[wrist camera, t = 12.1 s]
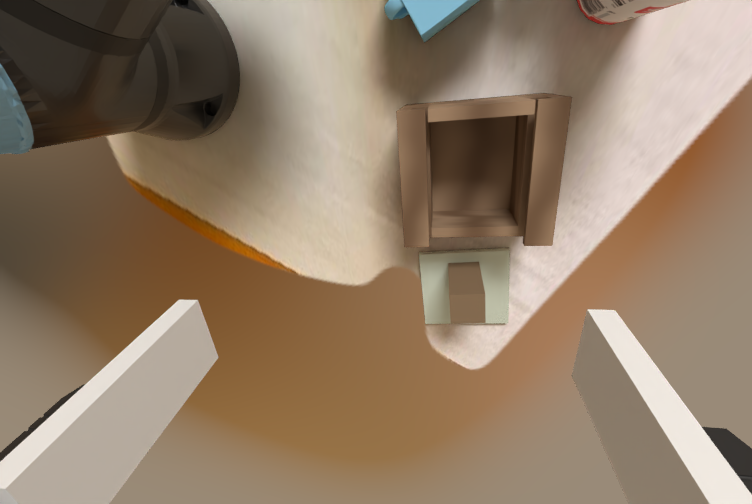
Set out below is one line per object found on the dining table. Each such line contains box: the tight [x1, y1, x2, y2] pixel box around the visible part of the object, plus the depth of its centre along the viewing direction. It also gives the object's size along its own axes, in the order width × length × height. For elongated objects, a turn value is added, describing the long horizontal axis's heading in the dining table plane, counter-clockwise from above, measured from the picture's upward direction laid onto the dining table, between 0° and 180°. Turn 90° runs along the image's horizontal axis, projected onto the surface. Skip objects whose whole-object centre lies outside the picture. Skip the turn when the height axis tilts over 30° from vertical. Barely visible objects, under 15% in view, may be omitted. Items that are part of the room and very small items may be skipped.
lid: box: [419, 248, 510, 324], centre depth 40 cm, size 10×10×8 cm
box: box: [396, 93, 572, 247], centre depth 34 cm, size 13×12×8 cm
